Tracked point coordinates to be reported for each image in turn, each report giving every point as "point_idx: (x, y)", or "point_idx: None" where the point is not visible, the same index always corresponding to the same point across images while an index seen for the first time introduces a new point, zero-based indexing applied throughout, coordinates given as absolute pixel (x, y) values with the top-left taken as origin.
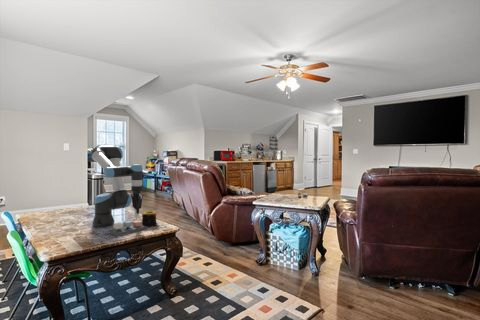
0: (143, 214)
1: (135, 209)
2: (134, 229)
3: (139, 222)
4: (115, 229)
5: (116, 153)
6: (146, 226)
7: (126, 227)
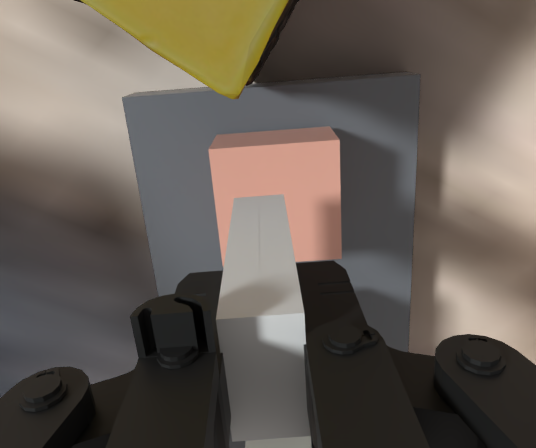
0: (255, 62)
1: (294, 428)
2: (410, 284)
3: (338, 188)
4: (230, 439)
5: None
6: (419, 80)
7: None
